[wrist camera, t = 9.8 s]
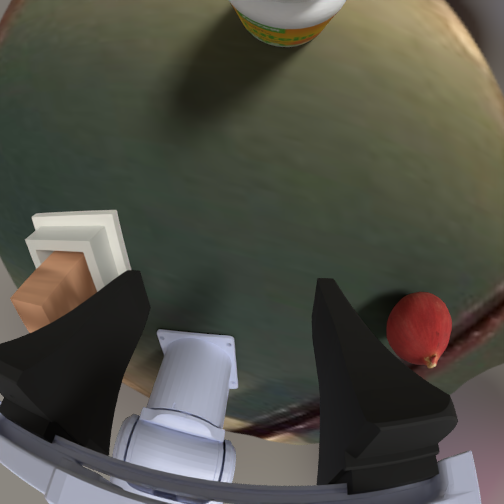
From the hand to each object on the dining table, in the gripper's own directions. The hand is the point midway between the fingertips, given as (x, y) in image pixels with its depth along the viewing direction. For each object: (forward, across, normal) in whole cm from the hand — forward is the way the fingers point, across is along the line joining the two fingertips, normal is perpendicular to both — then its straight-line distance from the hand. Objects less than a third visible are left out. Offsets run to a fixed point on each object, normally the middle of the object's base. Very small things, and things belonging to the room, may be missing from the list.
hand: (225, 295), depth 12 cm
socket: (+10, +16, +6) cm, 20 cm away
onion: (+11, -14, +9) cm, 20 cm away
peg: (+10, +16, +6) cm, 19 cm away
